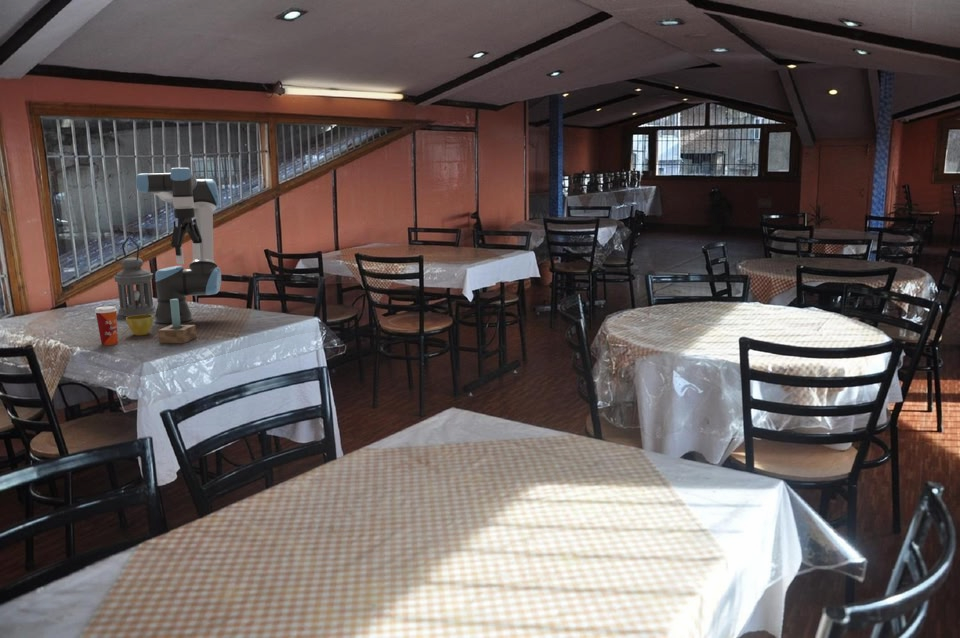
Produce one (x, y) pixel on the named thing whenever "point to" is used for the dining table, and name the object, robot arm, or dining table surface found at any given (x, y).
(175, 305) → the teal rectangular bar
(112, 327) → the paper cup
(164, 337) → the wooden block with hole
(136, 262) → the lantern
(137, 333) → the flower pot
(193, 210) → the robot arm
